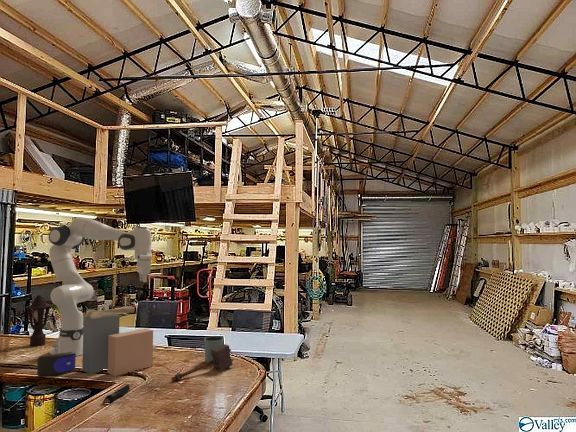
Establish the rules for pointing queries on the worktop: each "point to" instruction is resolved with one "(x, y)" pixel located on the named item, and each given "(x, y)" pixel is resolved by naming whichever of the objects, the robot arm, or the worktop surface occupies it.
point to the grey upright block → (97, 342)
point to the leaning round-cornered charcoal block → (56, 364)
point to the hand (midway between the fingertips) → (143, 281)
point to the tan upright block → (130, 351)
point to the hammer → (213, 361)
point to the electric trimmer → (116, 394)
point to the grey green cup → (211, 346)
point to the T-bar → (108, 312)
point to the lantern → (38, 320)
